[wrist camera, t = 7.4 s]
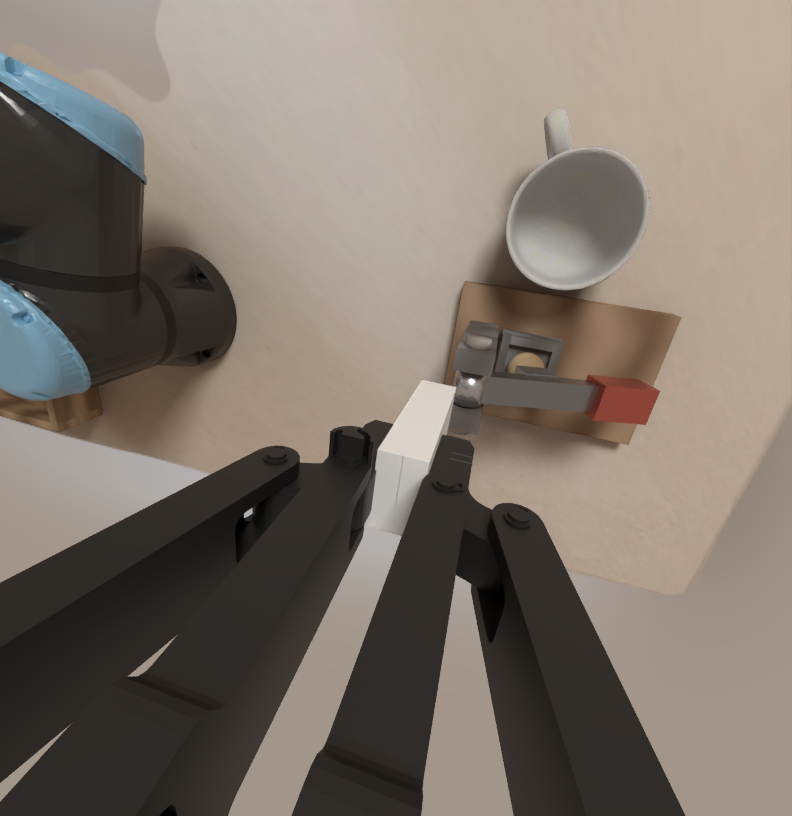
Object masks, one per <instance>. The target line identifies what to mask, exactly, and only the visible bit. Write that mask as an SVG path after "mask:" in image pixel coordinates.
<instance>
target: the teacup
mask: <svg viewBox="0 0 792 816" xmlns="http://www.w3.org/2000/svg"><path fill="white" fill-rule="evenodd" d="M544 129H545V140H546V147H547V155H548V160H547V161H545V162H544V163H543V164H541V165H540V166H539V167H537V168H536V169H535V170H534V171H533V172H532V173H531V174H530V175H529V176H528V177H527V178H526V179H525V180H524V181H523V182H522V184H521V185H520V187H519V188H518V190H517V192H516V193H515V195H514V197H513V199H512V202H511V205H510V207H509V211H508V214H507V220H506V243H507V247H508V251H509V254H510V256H511V258H512V260H513V262H514V264H515V265H516V267H517V268H518V269H519V271H520V272H521V273H522V274H523V275H524V276H525V277H527V278H528V279H529V280H531V281H532V282H534V283H536V284H538V285H540V286H542V287H546V288H549V289H553V290H577V289H582V288H586V287H589V286H592V285H594V284H597V283H599V282H601V281H603V280H605V279H607V278H608V277H610V276H611V275H613V274H614V273H615V272H616V271H618V270H619V269H620V268H621V267H622V266H623V265H624V264H625V263H626V262H627V260H629V259H630V257H631V255H632V254H633V253H634V252H635V250H636V249H637V247H638V245H639V244H640V242H641V240H642V238H643V235H644V233H645V230H646V226H647V223H648V218H649V208H650V203H649V199H650V198H649V195H648V190H647V188H646V184H645V181H644V178H643V177H642V175H641V173H640V171H639V170H638V168H637V167H636V166H635V165H634V164H633V163H632V162H631V161H629V160H628V159H627V158H626V157H624V156H623V155H621V154H620V153H617V152H615V151H612V150H609V149H607V148H601V147H585V148H578V149H573V150H572V143H571V134H570V126H569V120H568V116H567V113H566V111H565V110H563V109H557V110H554V111H553V112H551V113H549V114H548V115H547V116H546V117H545V119H544Z"/></svg>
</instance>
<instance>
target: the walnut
mask: <svg viewBox="0 0 792 816" xmlns="http://www.w3.org/2000/svg"><path fill="white" fill-rule="evenodd" d="M516 365H519V366H530V367H540V368H545V366H544V363H543V361H542V360H541V358H540V357H538V356H537V355H535V354H533V353H528V352H525V353H520V354H518V355H516V356H515V357H513V358H512V359H511V361H510V362H509V364H508V368H507V373H514V371H515V367H516Z"/></svg>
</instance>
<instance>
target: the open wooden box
mask: <svg viewBox="0 0 792 816" xmlns="http://www.w3.org/2000/svg"><path fill="white" fill-rule="evenodd" d="M99 415H102V410H101V404H100V399H99V393H98V388H97V386H96V387H94V388H91V389H88V390H87V391H85V392H83V393H79V394H71V395H67V396H63V397H59V398H55V399H51V400H45V401H34V400H28V399H23V398H20V397H17V396H14V395H12V394H10V393H8V392H6V391H4V390H2V389H1V388H0V416H3V417H7V418H11V419H14V420H18V421H21V422H25V423H28V424H32V425H36V426H39V427H43V428H46V429H50V430H53V431H57V432H60V431H63V430H65V429H68V428H70V427H73V426H75V425H77V424H80V423H82V422H85V421H87V420H90V419H92V418H94V417H97V416H99Z"/></svg>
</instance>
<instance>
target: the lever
mask: <svg viewBox="0 0 792 816" xmlns="http://www.w3.org/2000/svg"><path fill="white" fill-rule="evenodd" d="M453 387H456V392H455V397H454V403H456V404H458V405H461V406H464V407H479V406H481V404H491V405H503V406H516V407H528V408H540V409H553V410H565V411H577V412H583V413H585V414H586V415H587V416H588V417H590V418H591V419H592V420H593V421H604V422H617V423H630V424H643V425H646V423H647V421H648V418H649V416H650V414H651V411H652V409H653V407H654V404H655V402H656V399H657V397H658V395H659V392H660V391H659V390H657V389H656V388H654V387H652V386H650V385H648V384H646V383H644V382H642V381H641V380H639V379H629V378H619V377H608V376H598V375H588V376H587V379H586V380H580V379H570V378H559V377H558V376H557V375H555V374H554V373H553V372H551V371H550V370H549V369H547V368H540V367H530V366H519V365H516V367H515V371H514V373H506V372H495V371H492V375H491V377H487V376H482V375H477V374H472V373H467V372H462V371H457V370H456V375H455V380H454V385H453Z"/></svg>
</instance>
